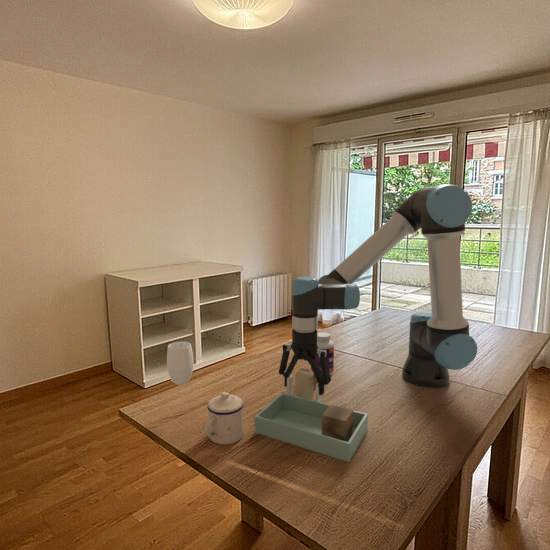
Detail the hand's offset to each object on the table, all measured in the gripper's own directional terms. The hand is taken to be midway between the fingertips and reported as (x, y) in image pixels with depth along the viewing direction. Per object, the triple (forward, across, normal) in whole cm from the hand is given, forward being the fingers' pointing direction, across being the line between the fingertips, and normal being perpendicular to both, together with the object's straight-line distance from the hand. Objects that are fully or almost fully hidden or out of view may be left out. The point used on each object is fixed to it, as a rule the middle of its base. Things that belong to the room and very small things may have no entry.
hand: (303, 400), depth 118 cm
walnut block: (0, -16, +15) cm, 22 cm away
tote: (0, -9, +15) cm, 17 cm away
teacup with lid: (+1, +10, +28) cm, 30 cm away
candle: (0, 0, 0) cm, 0 cm away
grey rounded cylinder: (+1, +27, +24) cm, 36 cm away
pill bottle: (0, +3, -22) cm, 22 cm away
